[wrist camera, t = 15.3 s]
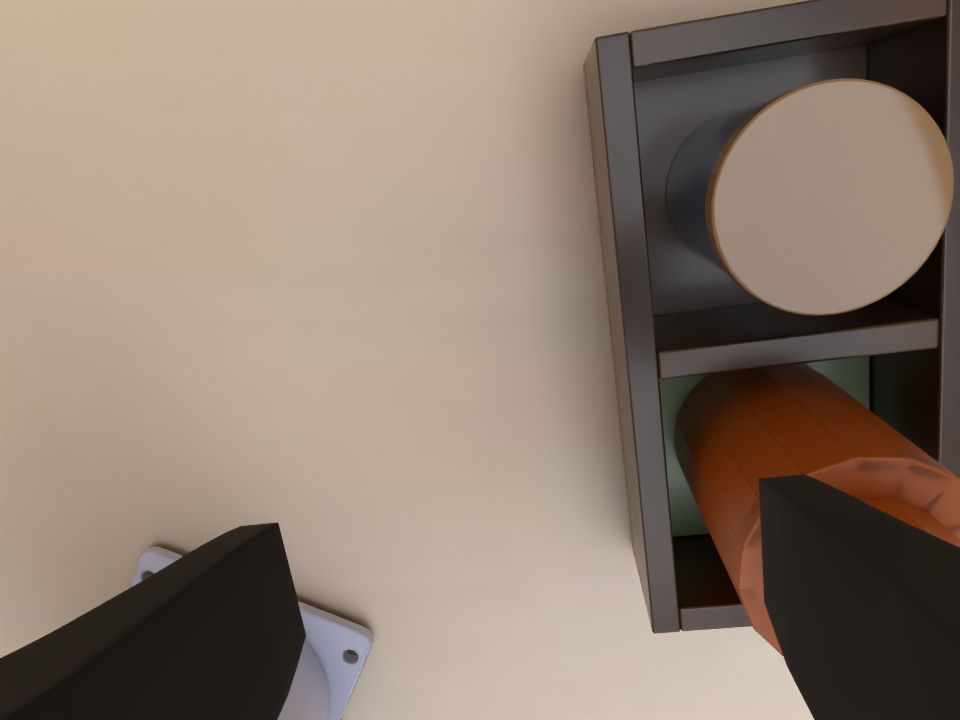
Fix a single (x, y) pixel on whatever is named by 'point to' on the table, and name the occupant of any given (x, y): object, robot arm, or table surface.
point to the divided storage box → (723, 303)
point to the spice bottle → (797, 463)
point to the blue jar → (815, 194)
